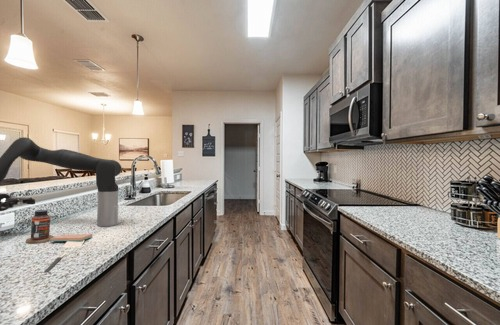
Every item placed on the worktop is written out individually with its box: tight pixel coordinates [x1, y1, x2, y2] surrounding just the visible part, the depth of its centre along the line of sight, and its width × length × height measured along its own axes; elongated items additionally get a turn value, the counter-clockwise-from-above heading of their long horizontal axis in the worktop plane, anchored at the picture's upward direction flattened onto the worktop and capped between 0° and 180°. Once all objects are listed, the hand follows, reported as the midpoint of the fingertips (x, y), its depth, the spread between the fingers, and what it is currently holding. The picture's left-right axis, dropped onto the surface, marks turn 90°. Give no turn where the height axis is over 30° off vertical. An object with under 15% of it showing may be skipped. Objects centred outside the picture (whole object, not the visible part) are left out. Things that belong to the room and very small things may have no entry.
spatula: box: [43, 240, 85, 274], centre depth 91 cm, size 6×29×2 cm, turn 19°
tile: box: [49, 233, 93, 242], centre depth 108 cm, size 1×8×12 cm
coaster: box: [25, 234, 55, 245], centre depth 107 cm, size 9×9×1 cm
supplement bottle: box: [30, 209, 51, 240], centre depth 107 cm, size 6×6×11 cm
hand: (23, 203), depth 110 cm, fingers open, 8 cm apart
